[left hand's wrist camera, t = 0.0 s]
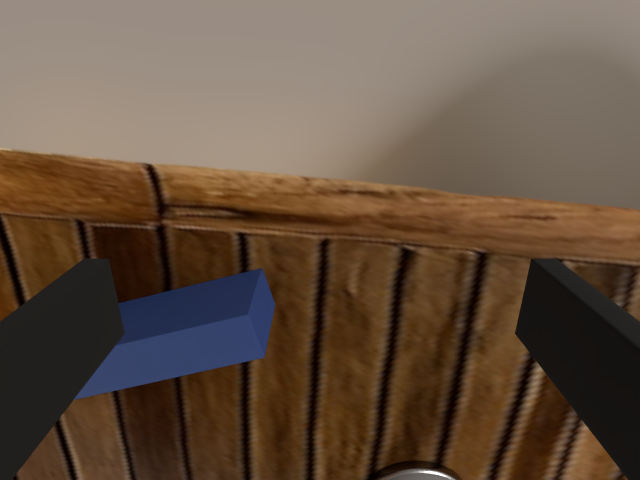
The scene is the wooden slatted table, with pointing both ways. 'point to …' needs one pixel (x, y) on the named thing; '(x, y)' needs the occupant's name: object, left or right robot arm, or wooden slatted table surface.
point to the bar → (188, 332)
